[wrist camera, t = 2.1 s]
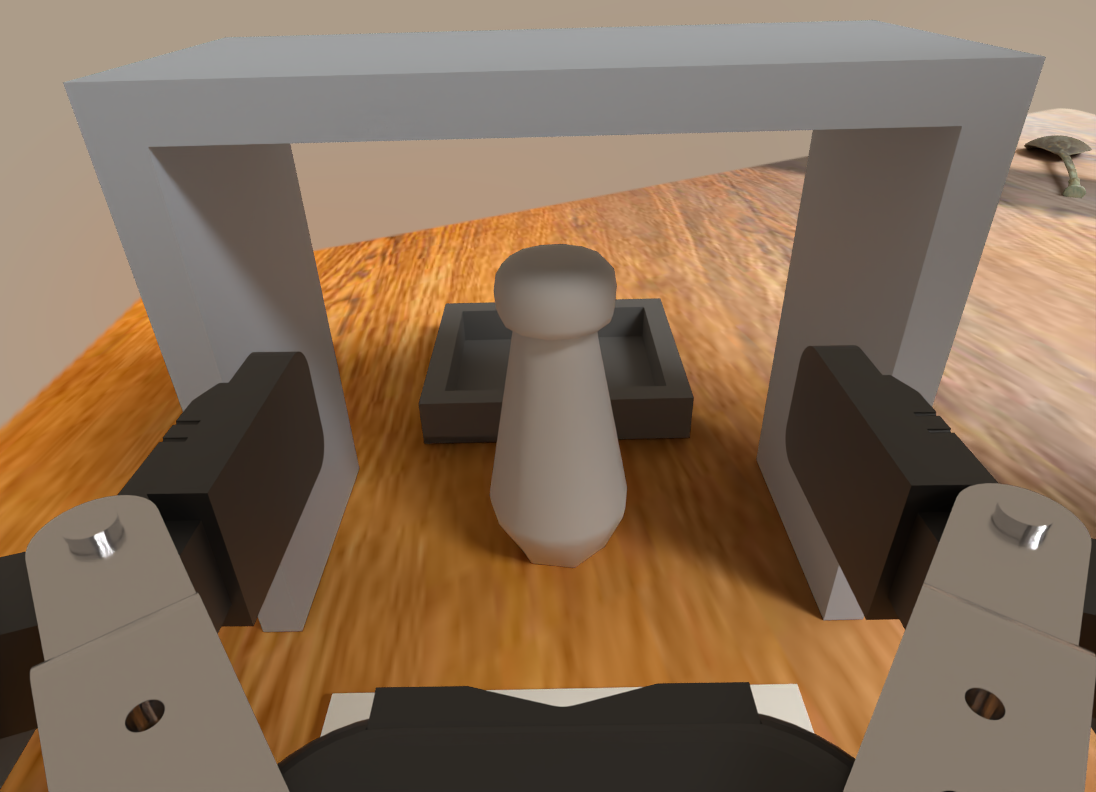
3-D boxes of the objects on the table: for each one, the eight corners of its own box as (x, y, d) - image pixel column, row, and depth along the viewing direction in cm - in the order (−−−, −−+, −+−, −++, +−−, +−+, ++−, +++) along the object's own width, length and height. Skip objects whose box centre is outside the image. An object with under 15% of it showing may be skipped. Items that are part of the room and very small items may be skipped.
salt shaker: (482, 505, 33) (457, 237, 26) (597, 481, 34) (603, 220, 27) (513, 598, 28) (491, 301, 21) (645, 566, 29) (667, 276, 22)
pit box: (657, 332, 47) (660, 298, 46) (689, 437, 37) (693, 397, 36) (449, 337, 47) (445, 303, 46) (424, 443, 37) (418, 404, 36)
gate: (786, 458, 35) (874, 20, 25) (862, 619, 27) (1045, 56, 16) (329, 469, 35) (225, 37, 25) (263, 631, 27) (62, 82, 16)
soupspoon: (1081, 160, 85) (1018, 157, 88) (1090, 130, 83) (1026, 129, 86) (1110, 204, 68) (1031, 199, 71) (1123, 168, 67) (1041, 165, 69)
